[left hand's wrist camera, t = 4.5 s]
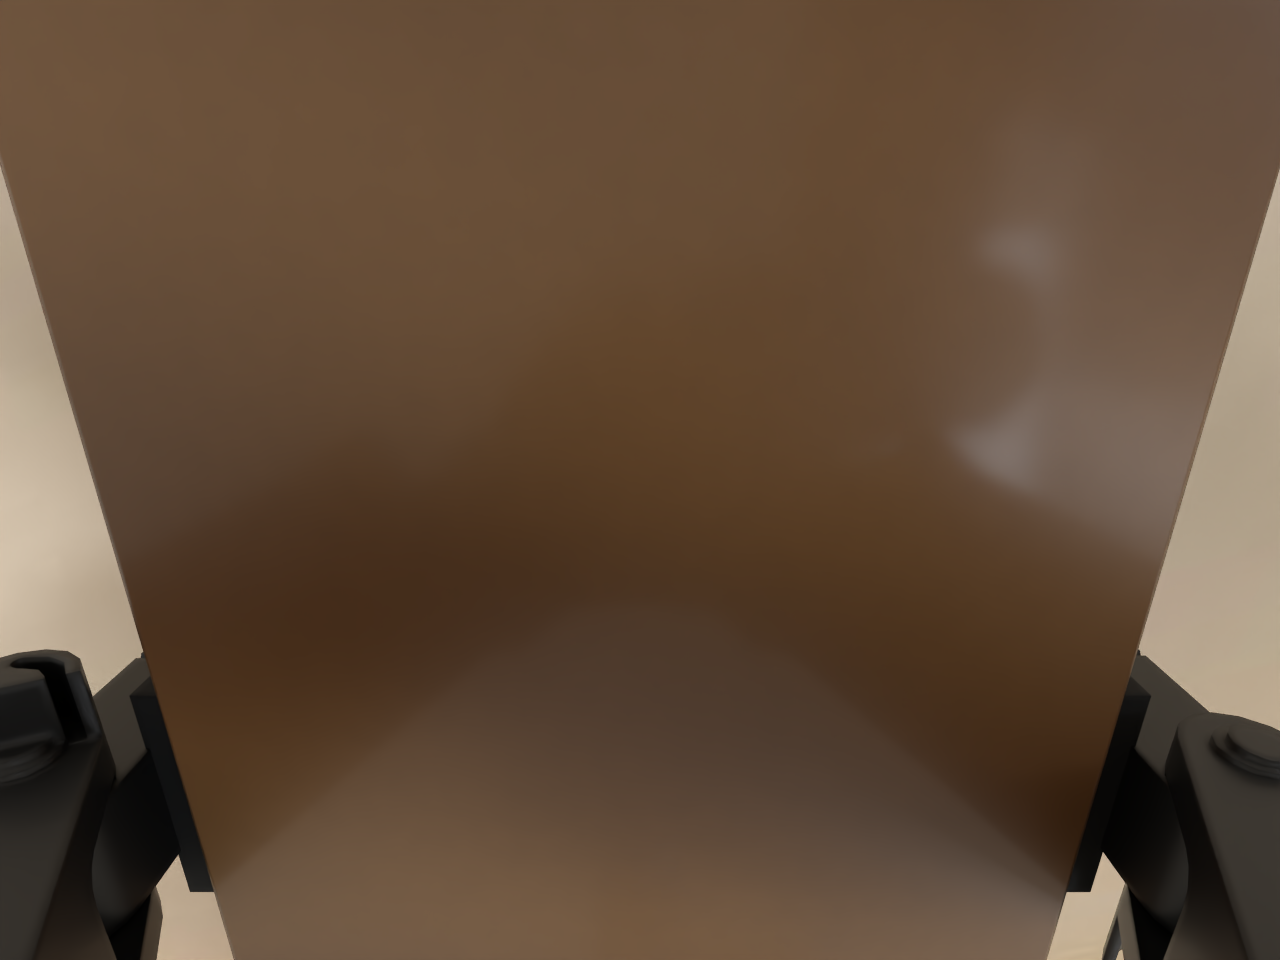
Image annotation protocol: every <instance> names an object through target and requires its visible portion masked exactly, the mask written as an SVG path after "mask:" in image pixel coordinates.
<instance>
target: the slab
mask: <svg viewBox="0 0 1280 960" xmlns="http://www.w3.org/2000/svg"><path fill="white" fill-rule="evenodd" d="M0 165H1V169H2V172H3V176H4V179H5V182H6V186H7V189H8V193H9V196H10V199H11V203H12V206H13V210H14V213H15V216H16V220H17V223H18V227H19V230H20V233H21V237H22V240H23V244H24V247H25V250H26V254H27V257H28V261H29V264H30V267H31V271H32V274H33V278H34V281H35V284H36V288H37V291H38V295H39V298H40V301H41V305H42V308H43V312H44V315H45V318H46V322H47V325H48V329H49V332H50V335H51V339H52V342H53V346H54V349H55V352H56V356H57V359H58V363H59V366H60V369H61V373H62V376H63V380H64V383H65V386H66V390H67V393H68V397H69V400H70V403H71V407H72V410H73V414H74V417H75V420H76V424H77V427H78V431H79V434H80V437H81V441H82V444H83V448H84V451H85V454H86V458H87V461H88V465H89V468H90V471H91V475H92V478H93V482H94V485H95V488H96V492H97V495H98V499H99V502H100V505H101V509H102V512H103V516H104V519H105V522H106V526H107V529H108V533H109V536H110V539H111V543H112V546H113V550H114V553H115V556H116V560H117V563H118V567H119V570H120V573H121V577H122V580H123V584H124V587H125V590H126V594H127V597H128V601H129V604H130V607H131V611H132V614H133V618H134V621H135V624H136V628H137V631H138V635H139V638H140V641H141V645H142V648H143V652H144V655H145V658H146V662H147V665H148V669H149V672H150V675H151V679H152V682H153V686H154V689H155V692H156V696H157V699H158V703H159V706H160V709H161V713H162V716H163V720H164V723H165V726H166V730H167V733H168V737H169V740H170V743H171V747H172V750H173V754H174V757H175V760H176V764H177V767H178V771H179V774H180V777H181V781H182V784H183V788H184V791H185V794H186V798H187V801H188V805H189V808H190V811H191V815H192V818H193V822H194V825H195V828H196V832H197V835H198V839H199V842H200V845H201V849H202V852H203V856H204V859H205V862H206V866H207V869H208V873H209V876H210V879H211V883H212V886H213V890H214V893H215V896H216V900H217V903H218V907H219V910H220V913H221V917H222V920H223V924H224V927H225V930H226V934H227V937H228V941H229V944H230V947H231V951H232V954H233V958H234V960H1047V957H1048V953H1049V950H1050V946H1051V943H1052V940H1053V936H1054V933H1055V929H1056V926H1057V923H1058V919H1059V916H1060V912H1061V909H1062V906H1063V902H1064V899H1065V895H1066V892H1067V889H1068V885H1069V882H1070V878H1071V875H1072V872H1073V868H1074V865H1075V861H1076V858H1077V855H1078V851H1079V848H1080V844H1081V841H1082V838H1083V834H1084V831H1085V828H1086V824H1087V821H1088V817H1089V814H1090V811H1091V807H1092V804H1093V800H1094V797H1095V794H1096V790H1097V787H1098V783H1099V780H1100V777H1101V773H1102V770H1103V766H1104V763H1105V760H1106V756H1107V753H1108V749H1109V746H1110V743H1111V739H1112V736H1113V732H1114V729H1115V726H1116V722H1117V719H1118V715H1119V712H1120V709H1121V705H1122V702H1123V699H1124V695H1125V692H1126V688H1127V685H1128V682H1129V678H1130V675H1131V671H1132V668H1133V665H1134V661H1135V658H1136V654H1137V651H1138V648H1139V644H1140V641H1141V637H1142V634H1143V631H1144V627H1145V624H1146V620H1147V617H1148V614H1149V610H1150V607H1151V603H1152V600H1153V597H1154V593H1155V590H1156V586H1157V583H1158V580H1159V576H1160V573H1161V570H1162V566H1163V563H1164V559H1165V556H1166V553H1167V549H1168V546H1169V542H1170V539H1171V536H1172V532H1173V529H1174V525H1175V522H1176V519H1177V515H1178V512H1179V508H1180V505H1181V502H1182V498H1183V495H1184V491H1185V488H1186V485H1187V481H1188V478H1189V474H1190V471H1191V468H1192V464H1193V461H1194V457H1195V454H1196V451H1197V447H1198V444H1199V441H1200V437H1201V434H1202V430H1203V427H1204V424H1205V420H1206V417H1207V413H1208V410H1209V407H1210V403H1211V400H1212V396H1213V393H1214V390H1215V386H1216V383H1217V379H1218V376H1219V373H1220V369H1221V366H1222V362H1223V359H1224V356H1225V352H1226V349H1227V345H1228V342H1229V339H1230V335H1231V332H1232V328H1233V325H1234V322H1235V318H1236V315H1237V312H1238V308H1239V305H1240V301H1241V298H1242V295H1243V291H1244V288H1245V284H1246V281H1247V278H1248V274H1249V271H1250V267H1251V264H1252V261H1253V257H1254V254H1255V250H1256V247H1257V244H1258V240H1259V237H1260V233H1261V230H1262V227H1263V223H1264V220H1265V216H1266V213H1267V210H1268V206H1269V203H1270V199H1271V196H1272V193H1273V189H1274V186H1275V183H1276V179H1277V176H1278V172H1279V169H1280V0H0Z"/></svg>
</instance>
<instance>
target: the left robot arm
mask: <svg viewBox="0 0 1280 960" xmlns="http://www.w3.org/2000/svg"><path fill="white" fill-rule="evenodd" d="M1103 852H1104V854H1105V855H1106V857H1107V858H1108V859H1109V861H1110V862H1111V863H1112V865H1113V866H1114V868H1115V869H1116V870H1117V872H1118V873H1119V875H1120V876H1121V877H1122V879H1123V880H1124V881H1125V885H1124V888H1123V891H1122V894H1121V897H1120V900H1119V903H1118V906H1117V909H1116V912H1115V915H1114V918H1113V921H1112V924H1111V927H1110V930H1109V933H1108V936H1107V939H1106V943H1105V946H1104V949H1103V956H1102V960H1116V958H1117V955H1118V952H1119V951H1120V950H1123V956H1124V960H1280V731H1279V730H1277V729H1275V728H1273V727H1270V726H1268V725H1264V724H1261V723H1258V722H1255V721H1252V720H1249V719H1246V718H1242V717H1239V716H1233V715H1226V714H1219V713H1212V712H1211V713H1210V712H1209V711H1208V710H1206V709H1205V708H1204V707H1203V706H1202V705H1201V704H1200V703H1198V702H1197V701H1196V700H1195V699H1194V698H1193V697H1192V696H1191V695H1189V694H1188V693H1187V692H1186V691H1185V690H1184V689H1183V688H1181V687H1180V686H1179V685H1178V684H1177V683H1176V682H1175V681H1174V680H1172V679H1171V678H1170V677H1169V676H1168V675H1167V674H1166V673H1164V672H1163V671H1162V670H1161V669H1160V668H1159V667H1158V666H1157V665H1155V664H1154V663H1153V662H1152V661H1151V660H1150V659H1149V658H1147V657H1146V656H1141V655H1140V650H1138V651H1137V654H1136V658H1135V661H1134V665H1133V668H1132V671H1131V675H1130V678H1129V682H1128V685H1127V688H1126V692H1125V695H1124V699H1123V702H1122V705H1121V709H1120V712H1119V715H1118V719H1117V722H1116V726H1115V729H1114V732H1113V736H1112V739H1111V743H1110V746H1109V749H1108V753H1107V756H1106V760H1105V763H1104V766H1103V770H1102V773H1101V777H1100V780H1099V783H1098V787H1097V790H1096V794H1095V797H1094V800H1093V804H1092V807H1091V811H1090V814H1089V817H1088V821H1087V824H1086V828H1085V831H1084V834H1083V838H1082V841H1081V844H1080V848H1079V851H1078V855H1077V858H1076V861H1075V865H1074V868H1073V872H1072V875H1071V878H1070V882H1069V885H1068V889H1067V892H1090V891H1091V888H1092V885H1093V882H1094V879H1095V875H1096V872H1097V869H1098V866H1099V863H1100V859H1101V856H1102V853H1103ZM178 854H179V857H180V861H181V864H182V867H183V870H184V874H185V877H186V880H187V883H188V886H189V890H190V892H214V890H213V886H212V883H211V879H210V876H209V873H208V869H207V866H206V862H205V859H204V856H203V852H202V849H201V845H200V842H199V839H198V835H197V832H196V828H195V825H194V822H193V818H192V815H191V811H190V808H189V805H188V801H187V798H186V794H185V791H184V788H183V784H182V781H181V777H180V774H179V771H178V767H177V764H176V760H175V757H174V754H173V750H172V747H171V743H170V740H169V737H168V733H167V730H166V726H165V723H164V720H163V716H162V713H161V709H160V706H159V703H158V699H157V696H156V692H155V689H154V686H153V682H152V679H151V675H150V672H149V669H148V665H147V662H146V658H145V655H144V652H143V653H141V658H136V659H135V660H134V661H132V662H131V663H130V664H129V665H128V666H127V667H126V668H125V669H123V670H122V671H121V672H120V673H119V674H118V675H117V676H116V677H114V678H113V679H112V680H111V681H110V682H109V683H108V684H107V685H105V686H104V687H103V688H102V689H101V690H100V691H99V692H98V693H96V694H95V695H94V696H92V693H91V690H90V687H89V684H88V681H87V678H86V675H85V672H84V669H83V666H82V663H81V660H80V658H78V657H76V656H75V655H73V654H71V653H70V652H68V651H58V650H47V649H46V650H38V651H30V652H22V653H16V654H12V655H9V656H5V657H1V658H0V960H156V959H157V952H158V945H159V939H160V932H161V925H162V919H163V914H162V907H161V900H160V897H159V894H158V891H157V888H156V885H157V883H158V882H159V881H160V879H161V878H162V876H163V875H164V874H165V872H166V871H167V870H168V868H169V867H170V865H171V864H172V863H173V861H174V860H175V858H176V857H177V856H178Z"/></svg>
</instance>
